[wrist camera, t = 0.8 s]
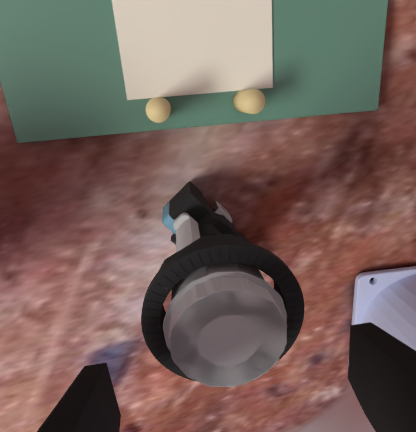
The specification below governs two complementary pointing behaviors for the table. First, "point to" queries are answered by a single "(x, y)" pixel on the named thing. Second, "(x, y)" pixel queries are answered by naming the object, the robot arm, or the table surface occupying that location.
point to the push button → (218, 299)
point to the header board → (184, 63)
